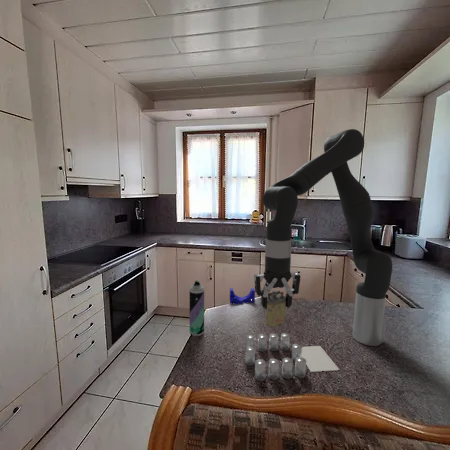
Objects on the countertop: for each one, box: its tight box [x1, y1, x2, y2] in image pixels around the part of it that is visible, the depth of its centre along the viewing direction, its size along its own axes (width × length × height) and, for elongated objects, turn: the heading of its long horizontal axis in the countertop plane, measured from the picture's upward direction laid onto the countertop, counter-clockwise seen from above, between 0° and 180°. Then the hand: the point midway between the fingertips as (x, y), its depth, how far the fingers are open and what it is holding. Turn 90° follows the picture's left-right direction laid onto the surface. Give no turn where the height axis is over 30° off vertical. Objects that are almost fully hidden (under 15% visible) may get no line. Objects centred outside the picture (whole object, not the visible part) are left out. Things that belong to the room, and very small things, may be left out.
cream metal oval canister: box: [265, 290, 287, 328], centre depth 78 cm, size 7×4×10 cm, turn 122°
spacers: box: [244, 332, 307, 382], centre depth 79 cm, size 18×16×4 cm
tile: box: [301, 345, 340, 373], centre depth 81 cm, size 9×12×1 cm
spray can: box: [189, 280, 205, 337], centre depth 95 cm, size 6×6×20 cm
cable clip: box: [229, 287, 256, 305], centre depth 123 cm, size 12×4×6 cm, turn 93°
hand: (276, 307), depth 77 cm, fingers closed on cream metal oval canister, 6 cm apart
